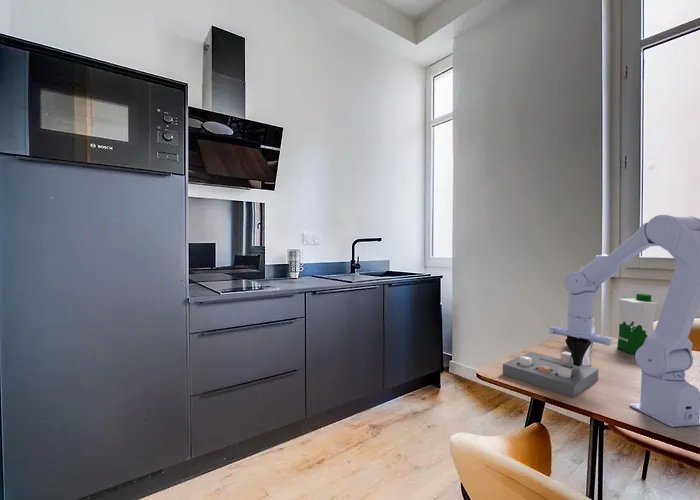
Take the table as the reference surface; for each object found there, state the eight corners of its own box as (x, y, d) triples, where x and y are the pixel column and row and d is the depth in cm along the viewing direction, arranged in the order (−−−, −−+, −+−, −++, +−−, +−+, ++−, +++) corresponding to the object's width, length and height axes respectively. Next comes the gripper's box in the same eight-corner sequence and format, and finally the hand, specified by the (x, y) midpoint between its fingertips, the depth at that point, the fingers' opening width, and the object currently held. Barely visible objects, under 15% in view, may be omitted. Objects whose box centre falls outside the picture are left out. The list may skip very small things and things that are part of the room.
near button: (572, 381, 93) (573, 369, 93) (568, 384, 91) (568, 371, 91) (560, 378, 95) (560, 365, 95) (555, 380, 94) (556, 368, 93)
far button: (533, 370, 101) (533, 358, 101) (528, 372, 99) (528, 360, 99) (522, 367, 103) (522, 355, 103) (517, 369, 101) (517, 357, 101)
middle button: (551, 380, 97) (552, 367, 97) (547, 382, 95) (547, 370, 95) (540, 376, 99) (540, 364, 99) (535, 379, 97) (536, 367, 97)
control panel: (597, 379, 99) (598, 368, 99) (574, 397, 87) (574, 384, 87) (530, 361, 112) (531, 351, 112) (502, 374, 101) (502, 363, 101)
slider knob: (573, 364, 101) (574, 353, 100) (569, 367, 99) (570, 355, 98) (564, 362, 102) (564, 351, 102) (560, 364, 100) (560, 353, 100)
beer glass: (597, 368, 108) (600, 318, 107) (572, 365, 109) (574, 317, 109) (587, 360, 115) (589, 313, 114) (563, 358, 116) (565, 312, 115)
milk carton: (657, 356, 120) (661, 297, 119) (630, 355, 120) (633, 296, 120) (638, 348, 129) (641, 292, 128) (612, 347, 129) (615, 292, 128)
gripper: (545, 313, 101) (543, 360, 102) (606, 323, 90) (604, 376, 90) (555, 310, 105) (553, 355, 106) (615, 319, 94) (612, 370, 95)
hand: (577, 365), depth 99 cm, fingers closed
